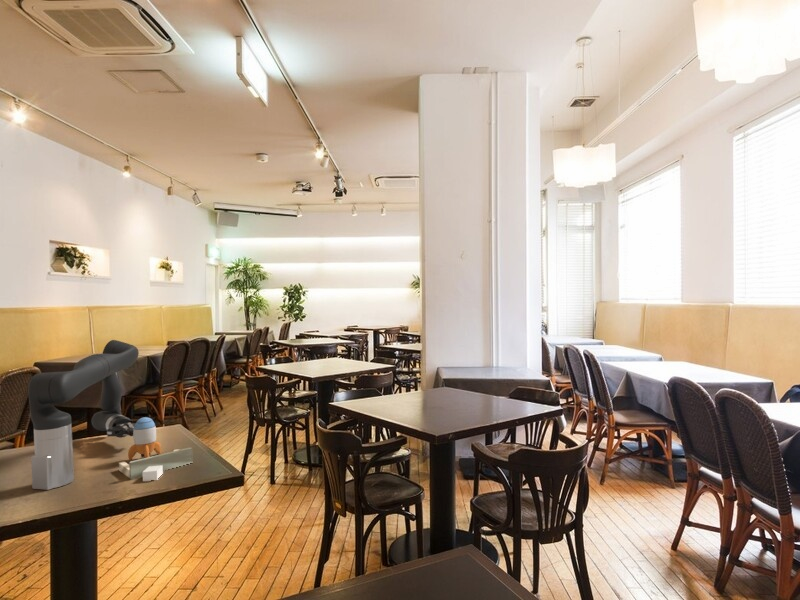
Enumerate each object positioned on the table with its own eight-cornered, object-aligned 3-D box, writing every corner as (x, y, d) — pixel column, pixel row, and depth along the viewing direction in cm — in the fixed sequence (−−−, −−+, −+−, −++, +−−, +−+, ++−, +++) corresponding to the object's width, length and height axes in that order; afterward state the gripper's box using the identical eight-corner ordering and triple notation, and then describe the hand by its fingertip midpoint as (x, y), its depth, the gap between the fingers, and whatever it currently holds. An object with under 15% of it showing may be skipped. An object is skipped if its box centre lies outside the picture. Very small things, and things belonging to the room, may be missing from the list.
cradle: (118, 470, 154) (118, 454, 154) (177, 455, 167) (177, 441, 167) (131, 479, 145) (130, 462, 145) (192, 463, 158) (192, 448, 158)
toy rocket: (154, 465, 161) (141, 423, 159) (123, 472, 161) (109, 430, 159) (168, 451, 171) (156, 411, 169) (139, 457, 171) (127, 418, 169)
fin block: (157, 480, 144) (156, 470, 144) (142, 482, 143) (142, 472, 143) (163, 475, 149) (162, 465, 149) (149, 476, 148) (148, 466, 148)
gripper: (138, 431, 189) (153, 439, 177) (99, 439, 180) (113, 448, 168) (137, 412, 189) (153, 418, 177) (98, 419, 180) (112, 426, 168)
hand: (133, 433), depth 172 cm, fingers closed
